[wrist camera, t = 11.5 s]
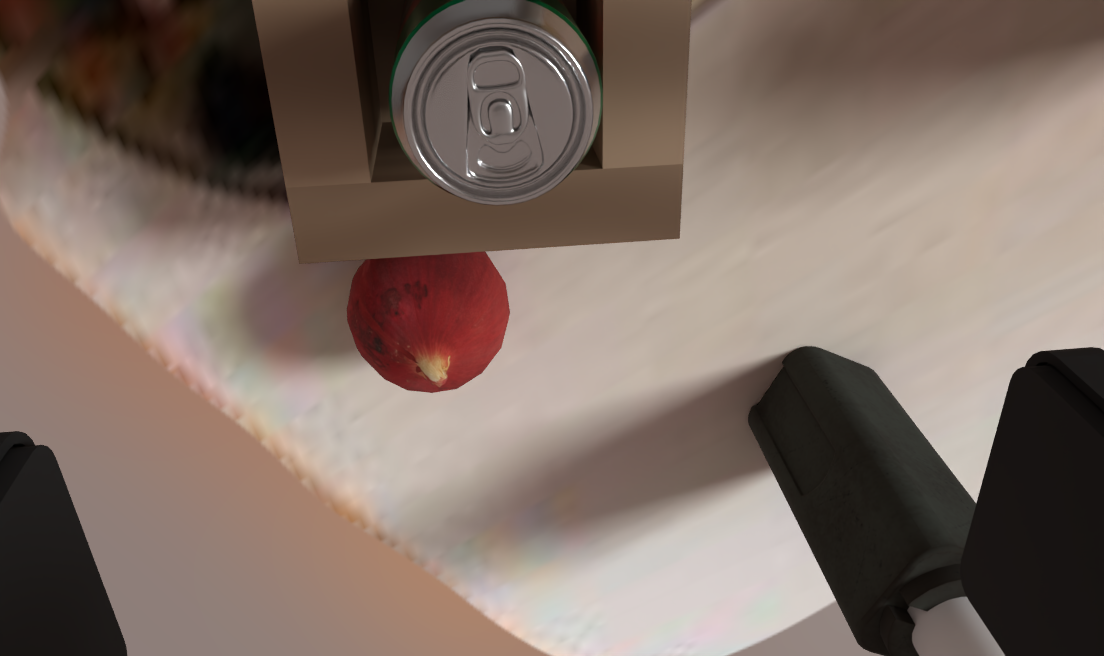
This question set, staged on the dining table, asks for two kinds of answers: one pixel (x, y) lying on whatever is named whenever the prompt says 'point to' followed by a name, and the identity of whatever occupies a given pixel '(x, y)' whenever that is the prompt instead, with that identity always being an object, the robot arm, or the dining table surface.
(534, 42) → the soda can
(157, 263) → the dining table surface
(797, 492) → the black handled stick
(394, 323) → the onion
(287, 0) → the well block
